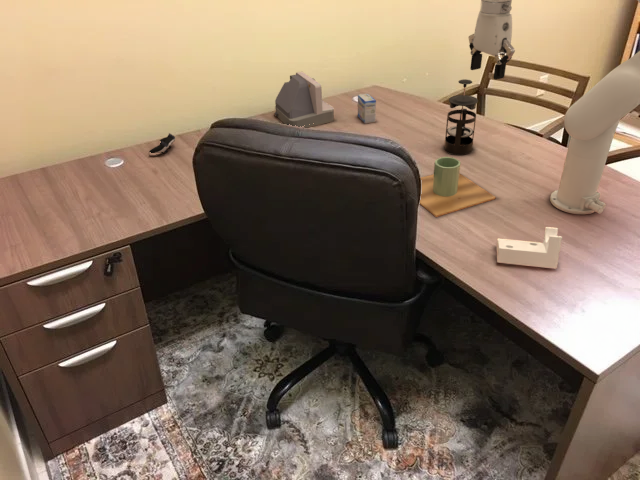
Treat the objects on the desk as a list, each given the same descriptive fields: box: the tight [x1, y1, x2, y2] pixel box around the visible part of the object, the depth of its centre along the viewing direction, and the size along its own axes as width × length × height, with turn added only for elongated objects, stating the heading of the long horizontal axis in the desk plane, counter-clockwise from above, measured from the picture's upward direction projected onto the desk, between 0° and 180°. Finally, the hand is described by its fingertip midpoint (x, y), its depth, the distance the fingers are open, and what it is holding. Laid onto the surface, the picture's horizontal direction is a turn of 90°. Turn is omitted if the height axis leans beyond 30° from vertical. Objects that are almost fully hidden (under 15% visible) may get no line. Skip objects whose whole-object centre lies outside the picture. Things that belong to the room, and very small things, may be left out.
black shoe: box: [148, 132, 177, 157], centre depth 187 cm, size 11×4×7 cm
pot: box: [433, 156, 462, 196], centre depth 152 cm, size 7×7×9 cm
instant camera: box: [274, 71, 335, 129], centre depth 203 cm, size 21×21×15 cm
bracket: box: [495, 226, 563, 270], centre depth 125 cm, size 13×7×8 cm, turn 76°
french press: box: [443, 78, 479, 156], centre depth 172 cm, size 12×9×23 cm
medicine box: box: [357, 93, 377, 124], centre depth 200 cm, size 8×4×9 cm, turn 17°
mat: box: [419, 173, 497, 218], centre depth 155 cm, size 20×20×1 cm
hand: (486, 73), depth 147 cm, fingers open, 9 cm apart
